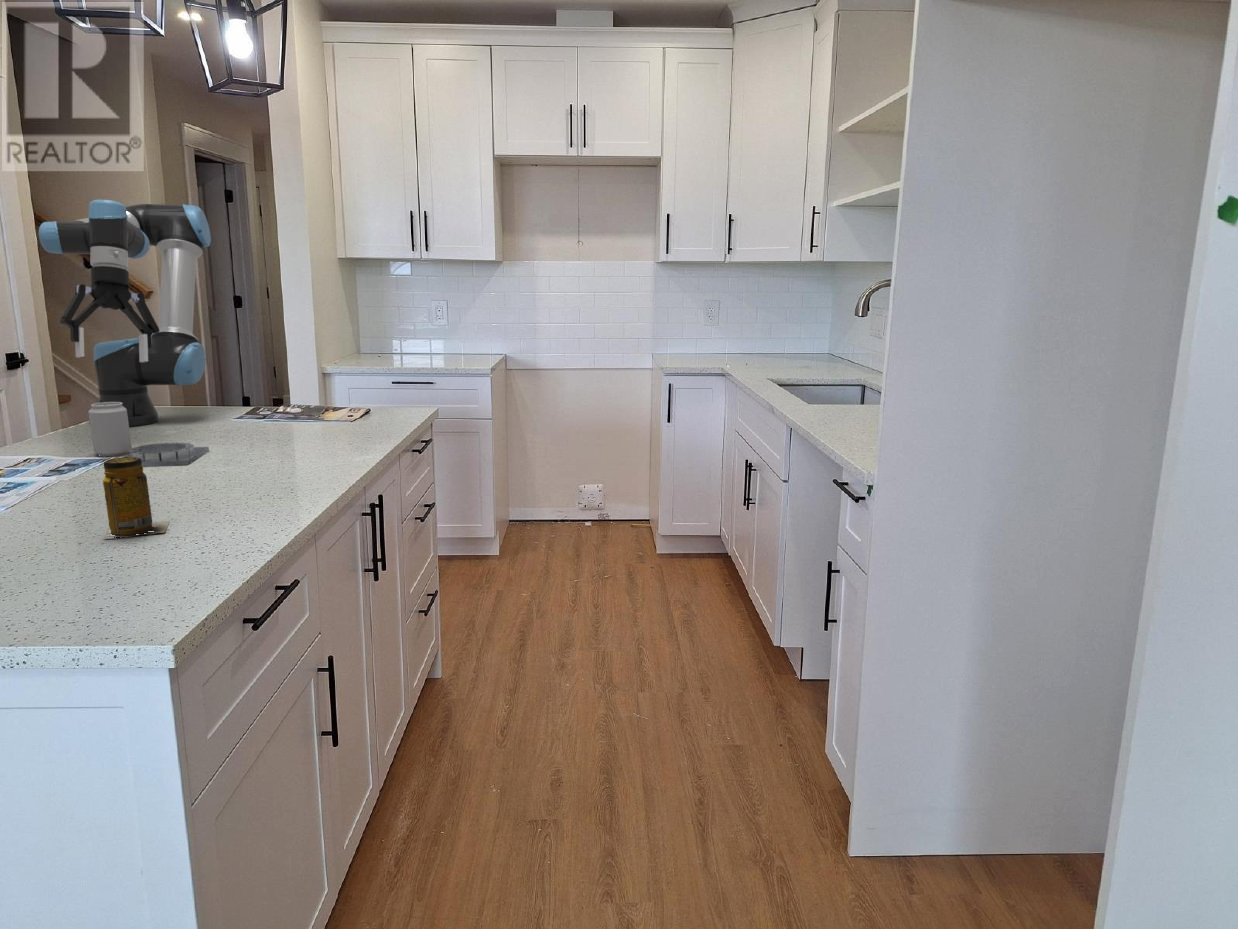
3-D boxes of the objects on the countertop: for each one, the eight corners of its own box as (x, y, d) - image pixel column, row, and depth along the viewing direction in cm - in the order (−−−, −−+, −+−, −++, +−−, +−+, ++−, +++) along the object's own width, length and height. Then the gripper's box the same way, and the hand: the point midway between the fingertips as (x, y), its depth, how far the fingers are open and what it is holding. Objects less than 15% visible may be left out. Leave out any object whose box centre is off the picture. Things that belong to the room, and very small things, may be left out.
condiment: (111, 527, 132) (101, 456, 130) (169, 522, 136) (161, 452, 133) (104, 540, 126) (93, 466, 123) (165, 534, 129) (156, 462, 127)
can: (139, 451, 189) (133, 400, 187) (117, 458, 182) (110, 405, 179) (110, 450, 190) (103, 400, 187) (86, 457, 183) (79, 405, 180)
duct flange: (140, 452, 188) (138, 442, 187) (208, 450, 190) (207, 440, 190) (113, 467, 173) (111, 456, 173) (187, 465, 176) (186, 454, 175)
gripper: (54, 255, 175) (58, 352, 175) (172, 275, 195) (175, 362, 195) (41, 261, 179) (44, 356, 179) (158, 279, 199) (160, 365, 199)
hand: (112, 359), depth 187 cm, fingers open, 13 cm apart
